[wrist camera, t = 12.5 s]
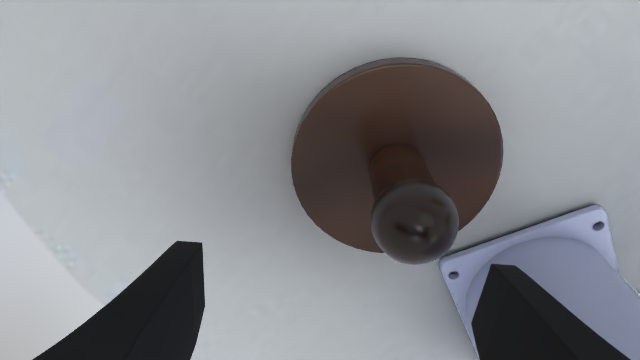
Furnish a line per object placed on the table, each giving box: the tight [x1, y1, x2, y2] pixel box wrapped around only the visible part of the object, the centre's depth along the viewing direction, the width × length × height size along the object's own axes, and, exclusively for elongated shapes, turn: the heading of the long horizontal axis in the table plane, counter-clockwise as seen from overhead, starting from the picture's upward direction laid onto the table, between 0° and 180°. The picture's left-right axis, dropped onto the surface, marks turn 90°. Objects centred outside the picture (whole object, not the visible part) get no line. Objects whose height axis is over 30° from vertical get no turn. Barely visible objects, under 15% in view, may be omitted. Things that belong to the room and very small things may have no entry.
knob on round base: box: [291, 58, 503, 265], centre depth 17 cm, size 9×9×6 cm
